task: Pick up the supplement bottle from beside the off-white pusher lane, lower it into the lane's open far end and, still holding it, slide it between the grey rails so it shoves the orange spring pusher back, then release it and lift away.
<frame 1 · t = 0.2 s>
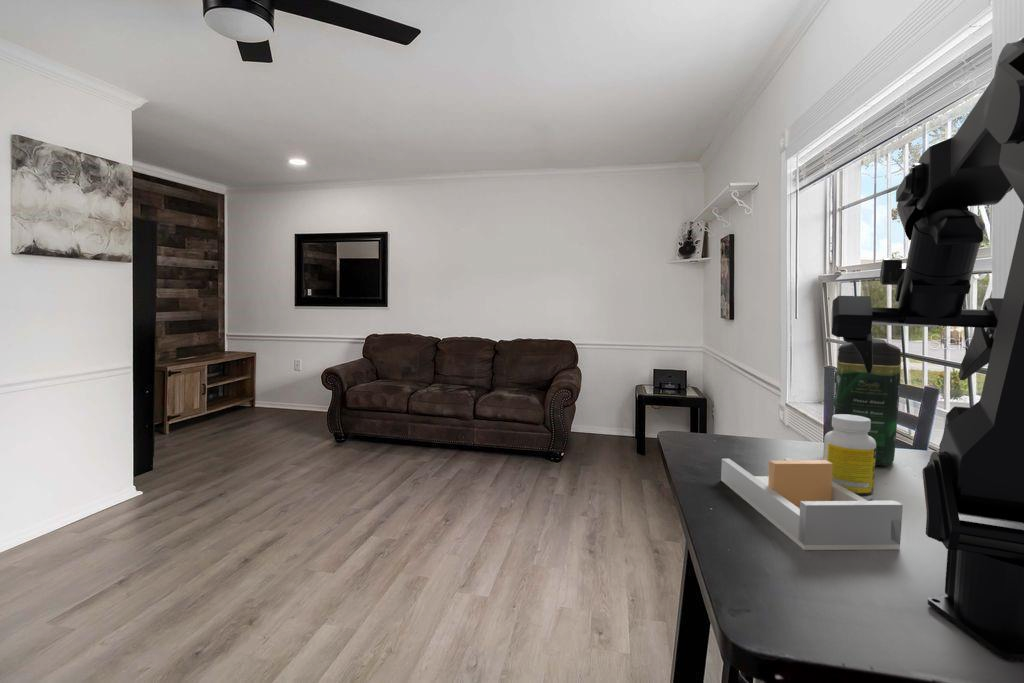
hand: (913, 374, 63), 15 cm above the table, tool tilted 30°, fingers open, 9 cm apart
supplement bottle: (846, 495, 63), on the table
coffee jar: (862, 459, 77), on the table
pusher: (799, 483, 57), point 3 cm above the table, slide at 0.0 cm
lane: (796, 509, 58), on the table
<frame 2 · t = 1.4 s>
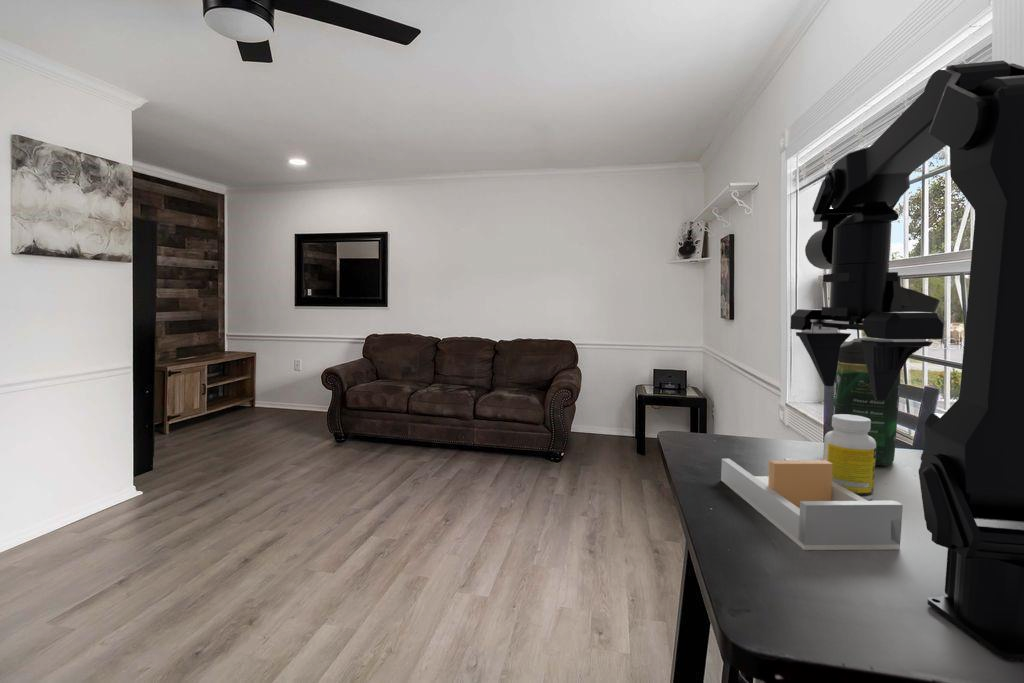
hand: (852, 392, 62), 13 cm above the table, tool pointing down, fingers open, 9 cm apart
nothing on the table moved.
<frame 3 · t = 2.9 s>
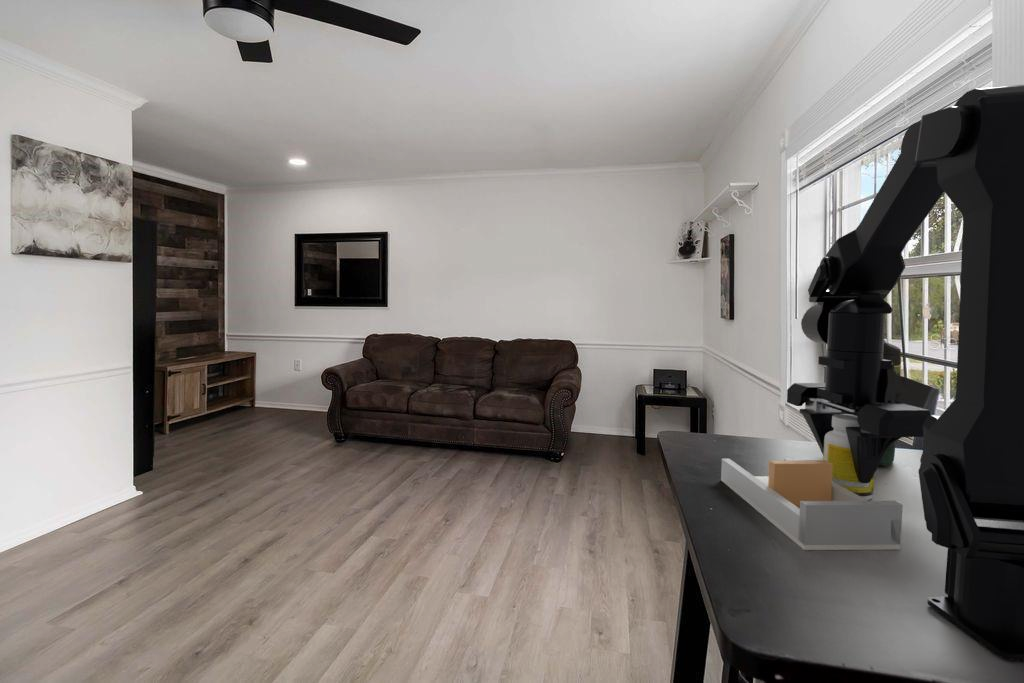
hand: (847, 474, 63), 3 cm above the table, tool pointing down, fingers closed on supplement bottle, 5 cm apart
supplement bottle: (846, 495, 63), on the table, touching gripper
everything else where it was.
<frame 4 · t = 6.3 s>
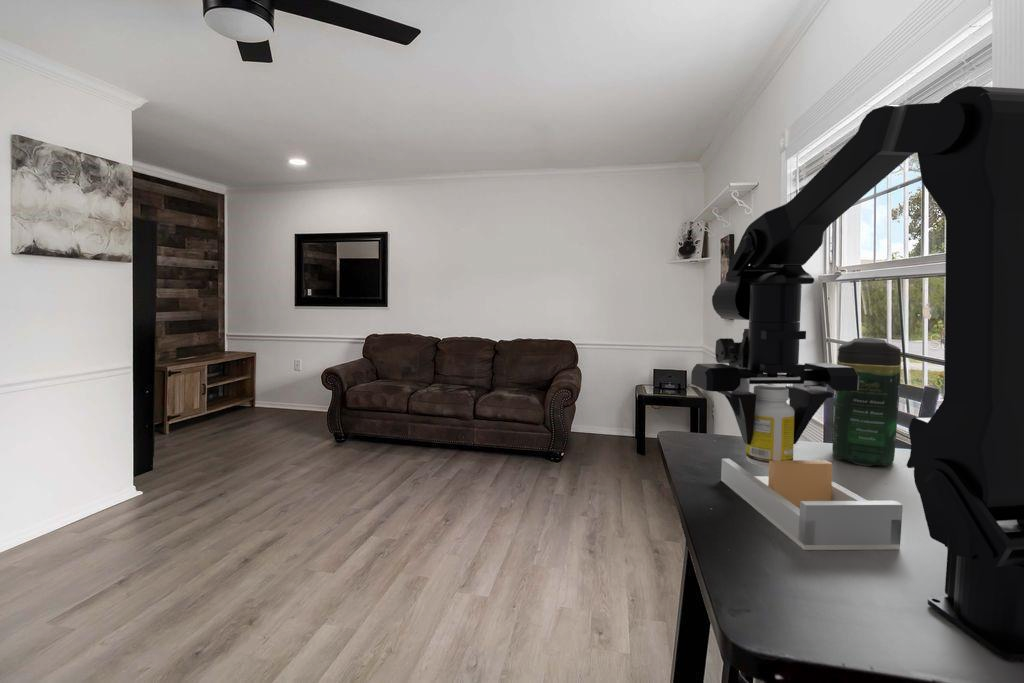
hand: (769, 443, 64), 6 cm above the table, tool pointing down, fingers closed on supplement bottle, 5 cm apart
supplement bottle: (768, 464, 64), point 3 cm above the table, touching gripper
everything else where it was.
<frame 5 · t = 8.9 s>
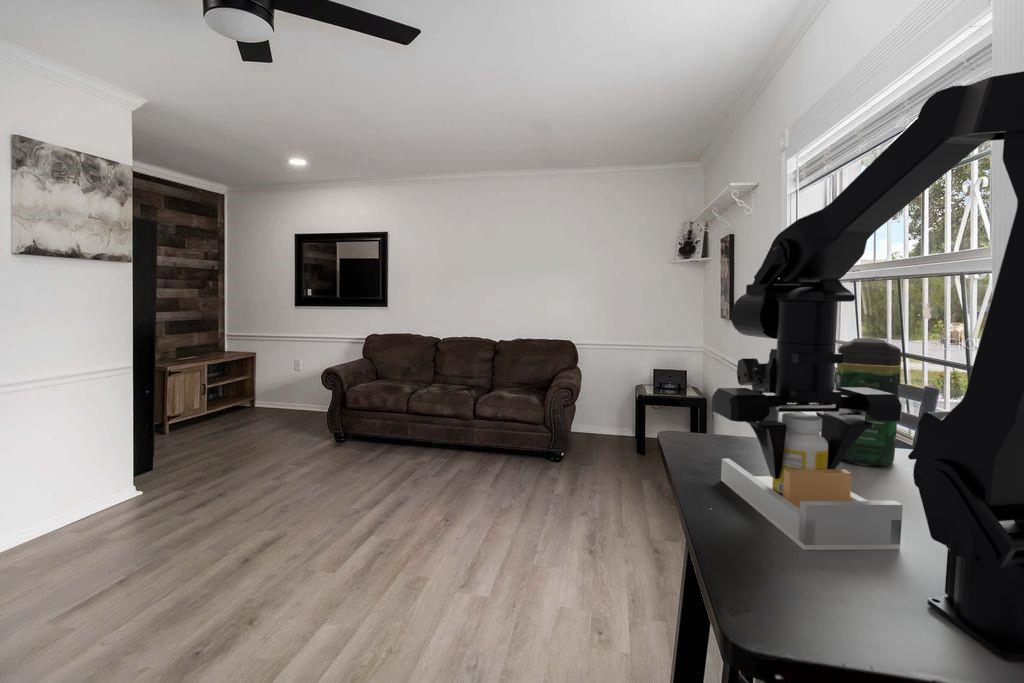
hand: (799, 477, 57), 4 cm above the table, tool pointing down, fingers closed on supplement bottle, 5 cm apart
supplement bottle: (797, 501, 58), point 1 cm above the table, touching gripper, pusher
pusher: (816, 493, 54), point 3 cm above the table, slide at 3.1 cm, touching supplement bottle
everything else where it was.
when the fingers open (4 cm above the table, at t = 10.1 s): supplement bottle stays where it is, resting on lane.
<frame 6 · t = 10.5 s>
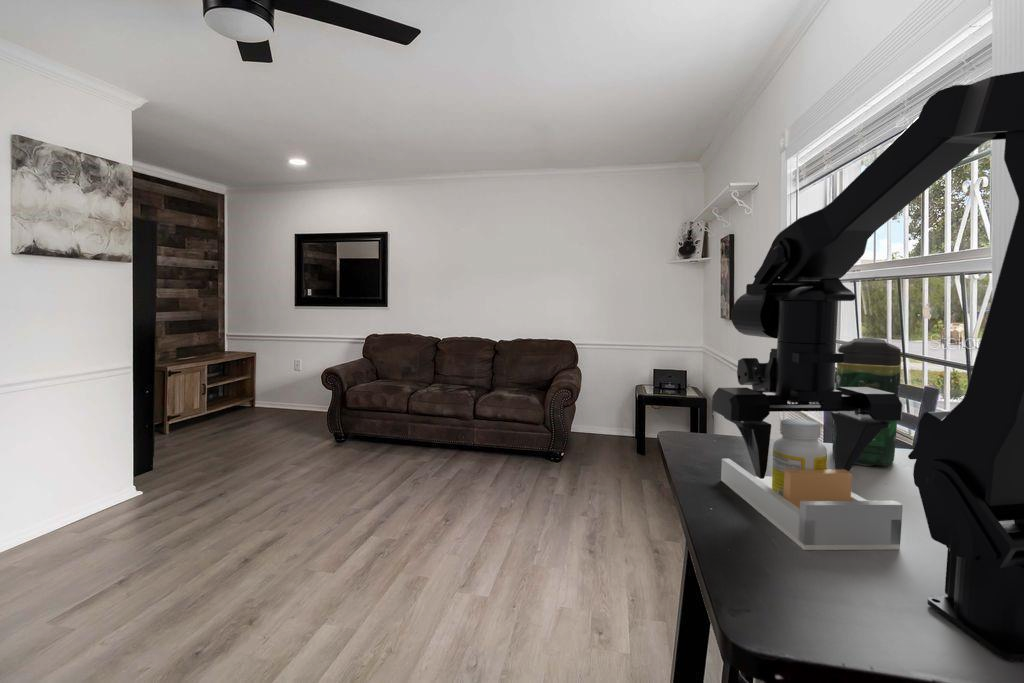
hand: (799, 477, 57), 4 cm above the table, tool pointing down, fingers open, 9 cm apart
supplement bottle: (797, 507, 58), resting on lane
pusher: (816, 493, 54), point 3 cm above the table, slide at 3.2 cm
everything else where it was.
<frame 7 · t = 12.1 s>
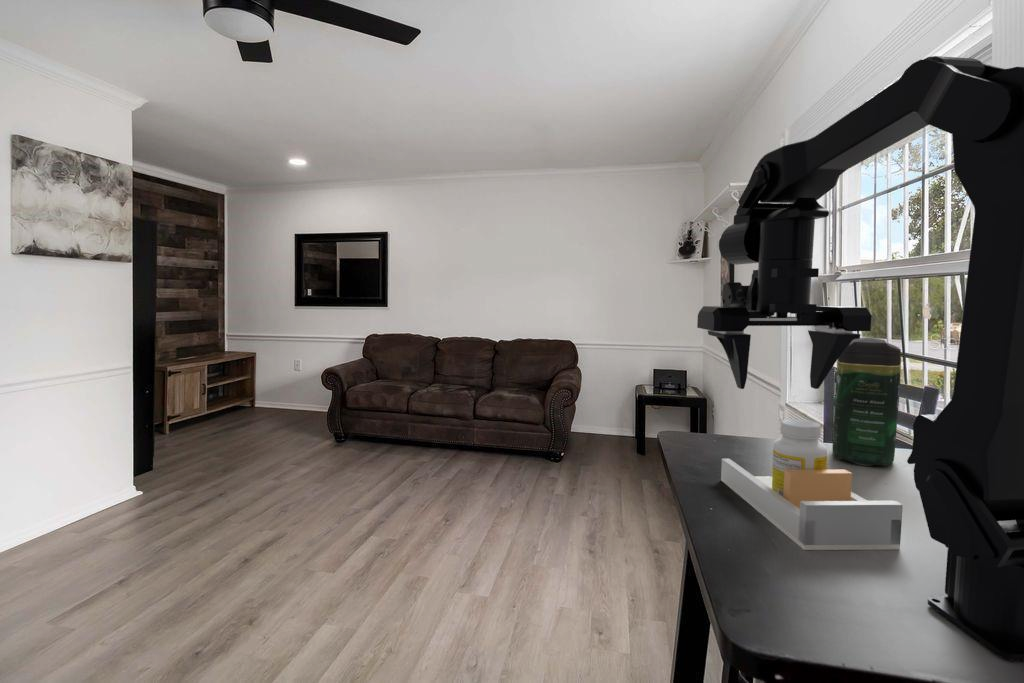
hand: (777, 388, 62), 13 cm above the table, tool pointing down, fingers open, 9 cm apart
nothing on the table moved.
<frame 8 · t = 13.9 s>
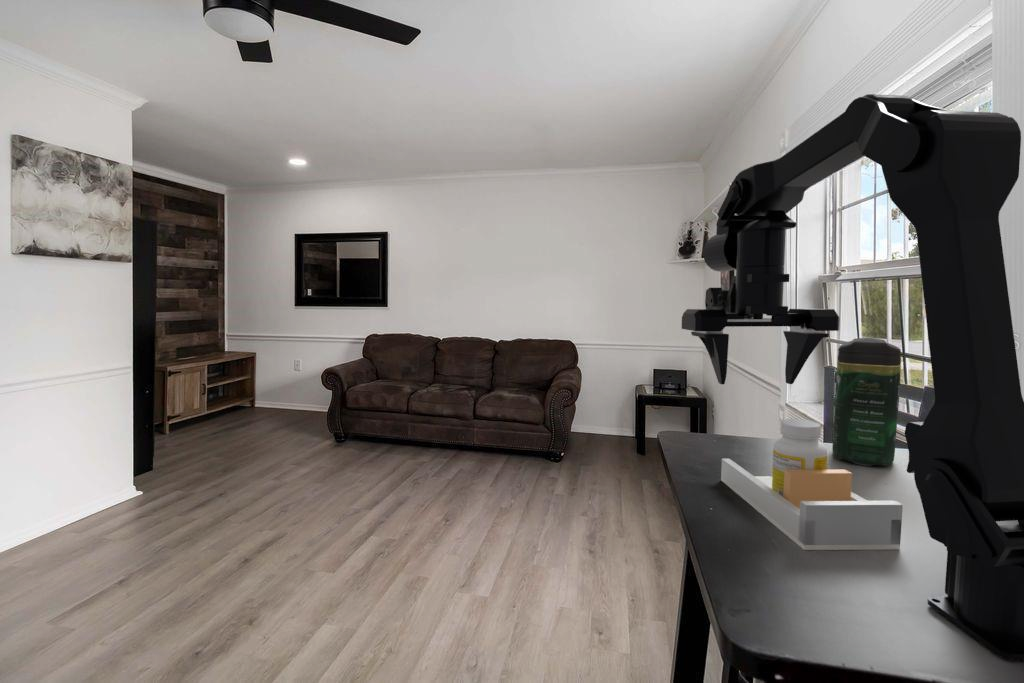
hand: (755, 383, 68), 13 cm above the table, tool pointing down, fingers open, 9 cm apart
nothing on the table moved.
at the end: pusher slide at 3.2 cm; supplement bottle inside the target area on the lane (0.2 cm from its centre), point 0.3 cm above the lane's base; supplement bottle tilted 0° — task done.
